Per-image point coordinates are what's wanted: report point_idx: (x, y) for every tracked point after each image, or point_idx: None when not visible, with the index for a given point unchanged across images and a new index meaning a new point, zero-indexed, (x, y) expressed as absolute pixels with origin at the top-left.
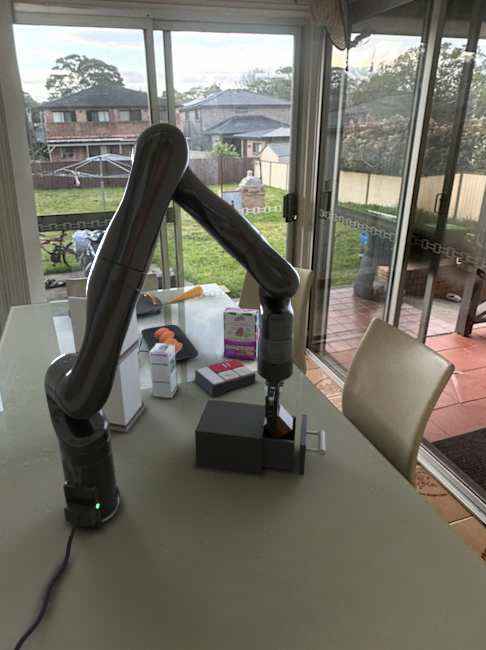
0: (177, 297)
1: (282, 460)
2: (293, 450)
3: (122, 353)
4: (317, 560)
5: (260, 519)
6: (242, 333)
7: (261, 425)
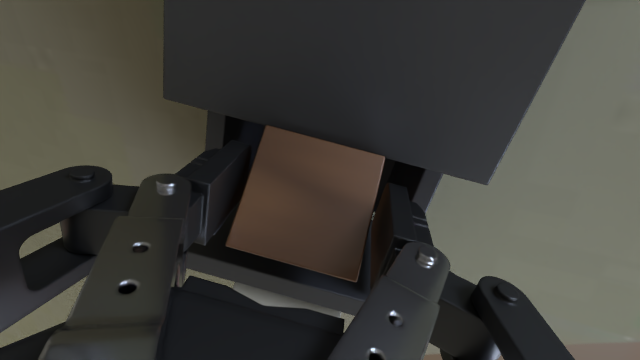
0: None
1: None
2: None
3: None
4: (10, 159)
5: (73, 42)
6: None
7: (282, 114)
